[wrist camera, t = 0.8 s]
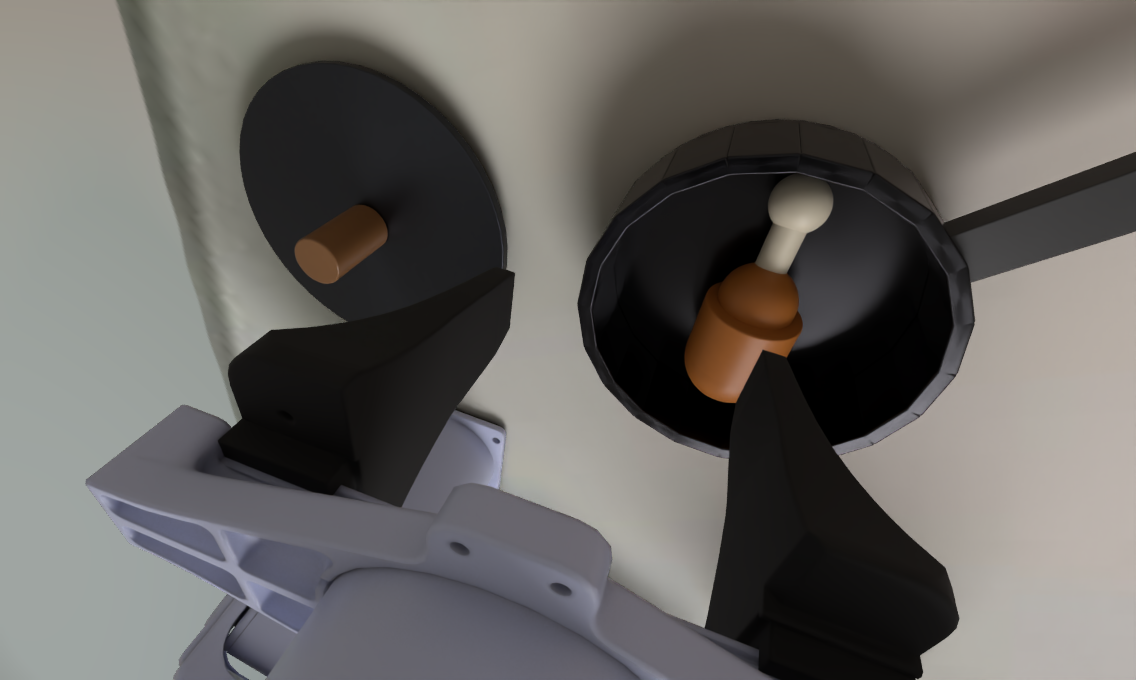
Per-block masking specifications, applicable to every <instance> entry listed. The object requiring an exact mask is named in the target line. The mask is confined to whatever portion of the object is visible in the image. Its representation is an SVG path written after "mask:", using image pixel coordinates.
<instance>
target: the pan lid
mask: <svg viewBox="0 0 1136 680" xmlns="http://www.w3.org/2000/svg"><path fill="white" fill-rule="evenodd" d="M240 165H241V172H242V177H243V182H244V187H245V190H246V194H247V197H248V200H249V203H250V206H251V208H252V211H253V213H254V216H255V218H256V220H257V222H258V224H259V226H260V228H261V230H262V232H263V234H264V236H265V238H266V239H267V241H268V242H269V244H270V246H271V247H272V249H273V250H274V252H275V253H276V255H277V256H278V257H279V259H280V260H281V262H282V263H283V264H284V266H285V267H286V268H287V269H288V270H289V272H290V273H291V274H292V275H293V276H294V277H295V279H296V280H297V281H298V282H299V283H300V284H301V285H302V286H303V287H304V288H305V289H306V290H307V291H308V292H309V293H310V294H311V295H313V296H314V297H315V298H316V299H317V300H318V301H319V302H321V303H322V304H323V305H324V306H326V307H327V308H328V309H330V310H331V311H332V312H334V313H335V314H337V315H338V316H340V317H341V318H343V319H345V320H346V321H348V322H350V321H355V320H359V319H364V318H368V317H373V316H377V315H381V314H385V313H388V312H392V311H395V310H398V309H401V308H404V307H407V306H410V305H413V304H416V303H418V302H421V301H423V300H425V299H428V298H430V297H433V296H435V295H437V294H440V293H442V292H445V291H447V290H449V289H451V288H453V287H455V286H457V285H459V284H461V283H463V282H466V281H468V280H470V279H472V278H474V277H476V276H477V275H479V274H481V273H483V272H486V271H488V270H490V269H492V268H494V267H498V268H501V269H505V270H506V267H507V239H506V230H505V225H504V220H503V216H502V212H501V208H500V205H499V202H498V200H497V197H496V194H495V191H494V189H493V186H492V184H491V182H490V180H489V178H488V176H487V174H486V172H485V170H484V168H483V167H482V165H481V163H480V162H479V160H478V159H477V157H476V155H475V154H474V152H473V151H472V149H471V148H470V146H469V145H468V144H467V142H466V141H465V140H464V139H463V137H462V136H461V135H460V133H459V132H458V131H457V130H456V128H455V127H454V126H453V125H452V124H451V123H450V122H449V121H448V120H447V119H446V118H445V117H444V116H443V115H442V114H441V113H440V112H439V111H438V110H437V109H436V108H434V107H433V106H432V105H431V104H430V103H428V102H427V101H426V100H425V99H424V98H423V97H421V96H420V95H418V94H417V93H415V92H414V91H412V90H411V89H409V88H408V87H406V86H405V85H403V84H402V83H400V82H398V81H396V80H394V79H392V78H390V77H388V76H386V75H384V74H382V73H380V72H378V71H375V70H372V69H369V68H366V67H363V66H360V65H356V64H351V63H345V62H340V61H318V62H311V63H305V64H301V65H297V66H295V67H292V68H289V69H287V70H284V71H282V72H280V73H279V74H277V75H276V76H274V77H272V78H271V79H269V80H268V81H267V82H266V83H265V84H264V85H263V86H262V87H261V88H260V89H259V90H258V92H257V93H256V95H255V96H254V98H253V100H252V101H251V103H250V104H249V107H248V109H247V112H246V114H245V117H244V120H243V125H242V130H241V134H240Z"/></svg>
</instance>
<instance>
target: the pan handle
mask: <svg viewBox="0 0 1136 680" xmlns="http://www.w3.org/2000/svg"><path fill="white" fill-rule="evenodd" d="M943 224H944V225H945V227H946V229H947V231H948V233H949V235H950V236H951V238H952V240H953V241H954V243H955V244H956V246H957V247H958V249H959V250H960V252H961V254H962V255H963V257H964V258H965V260H966V262H967V264H968V267H969V273H970V281H971V282H974V281H978V280H981V279H984V278H987V277H990V276H994V275H997V274H1000V273H1003V272H1007V271H1010V270H1013V269H1016V268H1019V267H1023V266H1026V265H1029V264H1032V263H1036V262H1039V261H1042V260H1045V259H1048V258H1052V257H1055V256H1058V255H1061V254H1065V253H1068V252H1071V251H1074V250H1077V249H1081V248H1084V247H1087V246H1090V245H1094V244H1097V243H1100V242H1103V241H1106V240H1110V239H1113V238H1116V237H1119V236H1123V235H1126V234H1129V233H1132V232H1135V231H1136V152H1134V153H1131V154H1129V155H1126V156H1123V157H1121V158H1118V159H1115V160H1113V161H1110V162H1107V163H1105V164H1102V165H1099V166H1096V167H1094V168H1091V169H1088V170H1086V171H1083V172H1080V173H1078V174H1075V175H1072V176H1069V177H1067V178H1064V179H1061V180H1059V181H1056V182H1053V183H1051V184H1048V185H1045V186H1043V187H1040V188H1037V189H1034V190H1032V191H1029V192H1026V193H1024V194H1021V195H1018V196H1016V197H1013V198H1010V199H1007V200H1005V201H1002V202H999V203H997V204H994V205H991V206H989V207H986V208H983V209H981V210H978V211H975V212H972V213H970V214H967V215H964V216H962V217H959V218H956V219H954V220H951V221H948V222H945V223H943Z"/></svg>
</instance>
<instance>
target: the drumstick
mask: <svg viewBox="0 0 1136 680" xmlns="http://www.w3.org/2000/svg"><path fill="white" fill-rule="evenodd" d="M832 207H833V193H832V191H831V188H830V186H829V185H828V183H827V182H826V181H824V180H820V179H816V178H812V177H809V176H805V175H801V174H798V173H796V174H792V175H790V176H788V177H786V178H784V179H783V180H781V181H780V182H779V183H778V184H777V185H776V186H775V187H774V189H773V190H772V192H771V194H770V197H769V201H768V212H769V216H770V218H771V220H772V222H773V224H772V226H771V228H770V231H769V233H768V235H767V237H766V240H765V242H764V244H763V246H762V248H761V251H760V253H759V255H758V257H757V260H756V262H754V263H748V264H745V265H742V266H740V267H738V268H736V269H735V270H733V271H732V272H731V273H730V274H728V276H727V277H726V278H725V279H724V281H723V282H719V283H716V284H715V285H713V286H712V287H710V288H709V290H708V291H707V293H706V296H705V298H704V301H703V303H702V306H701V308H700V311H699V313H698V316H697V318H696V321H695V323H694V326H693V329H692V331H691V334H690V336H689V339H688V341H687V344H686V348H685V355H684V356H685V366H686V370H687V373H688V375H689V377H690V379H691V381H692V382H693V384H694V385H695V386H696V387H697V388H698V389H699V390H700V391H701V392H702V393H703V394H705V395H706V396H708V397H710V398H712V399H715V400H718V401H721V402H727V403H736V401H737V399H738V397H739V395H740V393H741V391H742V389H743V387H744V385H745V384H746V382H747V380H748V378H749V376H750V374H751V372H752V370H753V368H754V366H755V364H756V362H757V360H758V358H759V356H760V354H761V352H762V350H766V351H769V352H772V353H775V354H779V355H782V356H785V357H786V358H787V356H788V354H789V352H790V351H791V349H792V347H793V345H794V344H795V342H796V340H797V338H798V337H799V335H800V333H801V331H802V328H803V321H802V318H801V316H800V314H799V312H798V311H797V310H798V305H799V295H798V290H797V287H796V285H795V283H794V281H793V279H792V278H791V277H790V276H789V275H788V274H787V272H788V270H789V268H790V266H791V264H792V262H793V260H794V258H795V256H796V254H797V252H798V250H799V248H800V246H801V244H802V242H803V240H804V238H805V236H806V234H807V233H809V232H811V231H813V230H815V229H817V228H818V227H820V226H821V225H822V224H823V223H824V222H825V221H826V220H827V218H828V217H829V215H830V213H831V211H832Z"/></svg>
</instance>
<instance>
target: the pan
mask: <svg viewBox="0 0 1136 680" xmlns="http://www.w3.org/2000/svg"><path fill="white" fill-rule="evenodd" d="M796 173H798V174H801V175H805V176H809V177H812V178H816V179H820V180H824V181H826V182H827V183H828V185H829V186H830V188H831V191H832V193H833V207H832V211H831V213H830V215H829V217H828V218H827V220H826V221H825V222H824V223H823V224H822V225H821V226H820V227H818V228H817V229H815V230H813V231H811V232H809V233H807V234H806V236H805V238H804V240H803V242H802V244H801V246H800V248H799V250H798V252H797V254H796V256H795V258H794V260H793V262H792V264H791V266H790V268H789V270H788V272H787V274H788V275H789V276H790V277H791V278H792V279H793V281H794V283H795V285H796V287H797V290H798V295H799V305H798V310H797V311H798V312H799V314H800V316H801V318H802V321H803V328H802V331H801V333H800V335H799V337H798V338H797V340H796V342H795V344H794V345H793V347H792V349H791V351H790V352H789V354H788V356H787V358H786V359H787V361H788V363H789V365H790V367H791V369H792V372H793V374H794V376H795V378H796V381H797V383H798V385H799V387H800V389H801V391H802V394H803V396H804V398H805V400H806V402H807V404H808V406H809V408H810V409H811V411H812V413H813V415H814V417H815V419H816V421H817V423H818V424H819V426H820V428H821V429H822V431H823V433H824V434H825V436H826V438H827V439H828V441H829V443H830V444H831V446H832V447H833V449H834V450H835V452H836V453H837V454H838V455H842V454H845V453H848V452H852V451H855V450H858V449H862V448H865V447H868V446H872V445H873V444H876V443H877V442H879V441H881V440H882V439H884V438H886V437H887V436H889V435H891V434H892V433H894V432H896V431H897V430H899V429H901V428H902V427H904V426H905V425H907V424H909V423H910V422H912V421H914V420H915V419H917V418H919V417H920V415H922V414H923V413H924V412H925V411H926V410H927V409H928V407H929V406H930V405H931V404H932V403H933V402H934V401H935V399H936V398H937V397H938V396H939V395H940V394H941V393H942V391H943V390H944V389H945V388H946V387H947V386H948V385H949V384H950V382H951V381H952V380H953V379H954V378H955V377H956V374H957V373H958V371H959V368H960V365H961V362H962V359H963V356H964V353H965V351H966V348H967V345H968V342H969V339H970V336H971V333H972V330H973V328H974V325H975V324H974V322H975V316H974V307H973V298H972V290H971V281H970V273H969V267H968V264H967V262H966V260H965V258H964V257H963V255H962V254H961V252H960V250H959V249H958V247H957V246H956V244H955V243H954V241H953V240H952V238H951V236H950V235H949V233H948V231H947V229H946V227H945V225H944V224H943V223H945V222H944V221H943V219H942V217H941V215H940V214H939V212H938V211H937V209H936V208H935V206H934V204H933V203H932V201H931V200H930V198H929V196H928V195H927V193H926V192H925V190H924V189H923V187H922V186H921V184H920V183H919V181H918V179H917V178H916V176H915V175H914V173H913V172H911V170H909V169H908V168H907V167H905V166H904V165H902V164H901V163H900V162H899V161H898V160H897V159H896V158H895V157H893V156H892V155H890V154H889V153H888V152H886V151H885V150H883V149H882V148H881V147H879V146H878V145H876V144H874V143H872V142H870V141H868V140H866V139H864V138H862V137H860V136H858V135H856V134H854V133H851V132H848V131H845V130H842V129H839V128H836V127H833V126H830V125H825V124H819V123H814V122H808V121H801V120H781V119H775V120H763V121H751V122H746V123H741V124H736V125H732V126H727V127H724V128H721V129H718V130H715V131H712V132H709V133H706V134H703V135H701V136H699V137H697V138H695V139H693V140H691V141H689V142H687V143H685V144H683V145H681V146H679V147H678V148H676V149H675V150H673V151H672V152H670V153H669V154H667V155H666V156H664V157H663V158H661V159H660V160H659V161H658V162H657V163H656V164H654V165H653V166H652V167H651V168H650V169H649V170H648V171H646V172H645V173H644V175H642V176H641V177H640V178H639V179H637V181H636V182H635V183H634V184H633V186H632V188H631V189H630V191H629V192H628V194H627V195H626V197H625V198H624V200H623V202H622V203H621V205H620V206H619V208H618V209H617V211H616V213H615V214H614V216H613V217H612V219H611V220H610V222H609V224H608V225H607V227H606V229H605V230H604V232H603V234H602V235H601V237H600V238H599V240H598V242H597V243H596V245H595V247H594V248H593V250H592V252H591V253H590V255H589V257H588V258H587V261H586V265H585V270H584V275H583V279H582V284H581V289H580V294H579V298H578V303H577V304H578V311H579V318H580V324H581V331H582V337H583V344H584V347H585V350H586V352H587V354H588V356H589V358H590V360H591V361H592V363H593V365H594V367H595V369H596V371H597V373H598V375H599V377H600V379H601V381H602V382H603V384H604V385H605V387H606V388H607V389H608V390H609V391H610V392H611V393H612V394H613V395H614V396H615V397H616V398H617V399H618V400H619V401H620V402H621V403H622V404H623V406H624V407H625V408H626V409H627V410H628V411H629V412H630V413H631V414H632V415H633V416H635V417H636V418H637V419H639V420H640V421H642V422H644V423H645V424H647V425H648V426H650V427H652V428H653V429H655V430H656V431H658V432H660V433H661V434H663V435H664V436H666V437H668V438H669V439H671V440H674V442H677V443H680V444H682V445H685V446H688V447H691V448H694V449H697V450H699V451H702V452H705V453H708V454H711V455H714V456H716V457H721V458H728V459H729V447H730V432H731V426H732V421H733V415H734V410H735V405H736V403H727V402H721V401H718V400H715V399H712V398H710V397H708V396H706V395H705V394H703V393H702V392H701V391H700V390H699V389H698V388H697V387H696V386H695V385H694V384H693V382H692V381H691V379H690V377H689V375H688V373H687V370H686V366H685V356H684V355H685V348H686V344H687V341H688V339H689V336H690V334H691V331H692V329H693V326H694V323H695V321H696V318H697V316H698V313H699V311H700V308H701V306H702V303H703V301H704V298H705V296H706V293H707V291H708V290H709V288H710V287H712V286H713V285H715V284H716V283H719V282H723V281H724V279H725V278H726V277H727V276H728V274H730V273H731V272H732V271H733V270H735V269H736V268H738V267H740V266H742V265H745V264H748V263H754V262H756V260H757V257H758V255H759V253H760V251H761V248H762V246H763V244H764V242H765V240H766V237H767V235H768V233H769V231H770V228H771V226H772V224H773V222H772V220H771V218H770V216H769V212H768V201H769V197H770V194H771V192H772V190H773V189H774V187H775V186H776V185H777V184H778V183H779V182H780V181H781V180H783V179H784V178H786V177H788V176H790V175H792V174H796Z"/></svg>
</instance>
